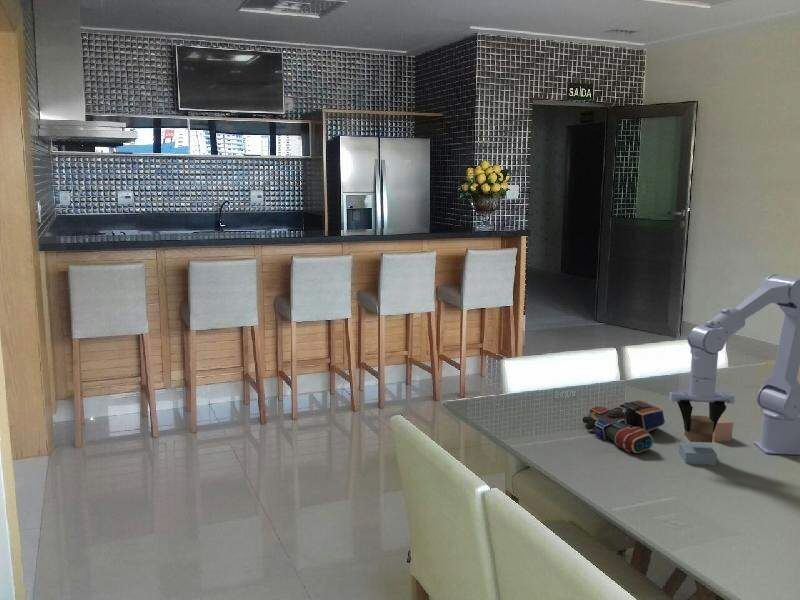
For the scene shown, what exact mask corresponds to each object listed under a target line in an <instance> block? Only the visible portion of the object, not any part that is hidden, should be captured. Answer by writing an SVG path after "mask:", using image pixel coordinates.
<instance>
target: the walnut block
mask: <svg viewBox="0 0 800 600" xmlns="http://www.w3.org/2000/svg"><path fill="white" fill-rule="evenodd" d="M713 425H714V422H713V421H712V420H711V419H710V418H709V415H695V414H694V415H693V414H691V420H690V432H687V431H686V430H685V429H684V436H685V437H686V438H687V440H689V443H707V444H710V443H711V444H712V443H713V441H712V438H713Z"/></svg>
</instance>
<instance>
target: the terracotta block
mask: <svg viewBox="0 0 800 600" xmlns="http://www.w3.org/2000/svg"><path fill="white" fill-rule="evenodd" d="M733 428H734V422H733V421H731V420H730V419H728V418H725V417H724V416H722V415H721V417H720V418H719V420H718V422H717V424H716V427H715V430H714V433H713V438H712V442H728V441H729V442H730V441H732V440H733Z"/></svg>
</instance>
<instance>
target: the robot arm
mask: <svg viewBox="0 0 800 600" xmlns="http://www.w3.org/2000/svg"><path fill="white" fill-rule="evenodd" d="M771 304H775V305H777V306H778V307H779V308H780V309H781V310H782V312H783V313H784V320H783V323H782V326H781V332H780V338H779V342H778V347H777V352H776V354H775V355H776V357H775V361H774V366H773V370H772V373H771V375H770V376H768V377H766V378H764V379H763V381H762V384H761V387H760V389H759V390H758V392H757V394H756V403H757V405H758V406H759V407H760V412H762V418H761V419H762V420H761V428H760V429H761V430H760V431H761V432H760V440H753V443H754V444H755V445H756V446H757V447H758V448H759V449H760V450H761V451H763V453H765V454H773V455H774V454H775V455H793V456H794V455H796V456H798V455H799V456H800V382H799V381H798V375H799V371H800V278H798V277H792V276H785V275H780V274H775V273H772V274H770V275H769V276H767V277H766V278H765V279H763V280H761V281H760V284H759V287H758V288H757V289H755V291H753V292H752V293H751V294H750V295H749V296H748V297H746V298H745V299H744V300H743V301H742V302H740V303H739V304H738V305H737V306H736V307H726V308H725V307H723V308H722V309H721V310H720V313H719V314H717V315H715V317H713V318H712V319H710V320H707V321H706V323H705V324H704V325H697V326H695V327H694V328H692V329H691V331H690V332H689V334H688V336H687V337H686V339H687V343H688V345H689V347H690V354H691V361H690V362H691V364H690V373H689V374H690V375H689V376H690V379H689V387H688V388H689V389H688V390H684V391H683V390H682V391H669V395H668V397H669V398H668V400H669V401H670V402H671V403H672V402H673V403H674V402H676V403H677V406H678V408H679V411H680V413H681V417H682V421H683V428H684V431H685V430H686V431H687V432H690V420H691V415H692V412H693V406H692V403H693V402H694V403H695V402H696V403H708V409H709V412H708V414H709V415H708V417H709V418H710V419H711V420H712V421H713V422H714V425H713V433H714V430H715V427H716V424H717V422H718V420H719V418H720V417H721V416H722V415H723V413H725V411H726V410H727V405H726V404H730V405H734V404H735V399H736V398H735V395H734V394H732V393H723V392H717V391H716V385H717V371H718V370H717V369H718V361H719V359H718V358H719V352H721V351H722V350H723V349H724V347H725V346H726V342H728V341H729V338H731V336H733V335H734V334H735V335H736V333H737V332H738V331H740V330H741V329H743V328H744V327H745V326H746V320H747V319H748V318H750V317H751V316H752V315H755V314H756V313H757V312H759V311H760V310H762V309H764V308H765V307H767V306H769V305H771Z"/></svg>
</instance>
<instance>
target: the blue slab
mask: <svg viewBox="0 0 800 600" xmlns="http://www.w3.org/2000/svg"><path fill="white" fill-rule="evenodd" d="M678 454H679V455H680V457H681V458H682V460H683V462H684V463H685V464H692V465H705V464H708V465H707V466H710V465H711V466H717V459H718V453H717V452H716V451H715V450H714V448H713V447H712V445H710V443H699V442H678Z"/></svg>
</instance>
